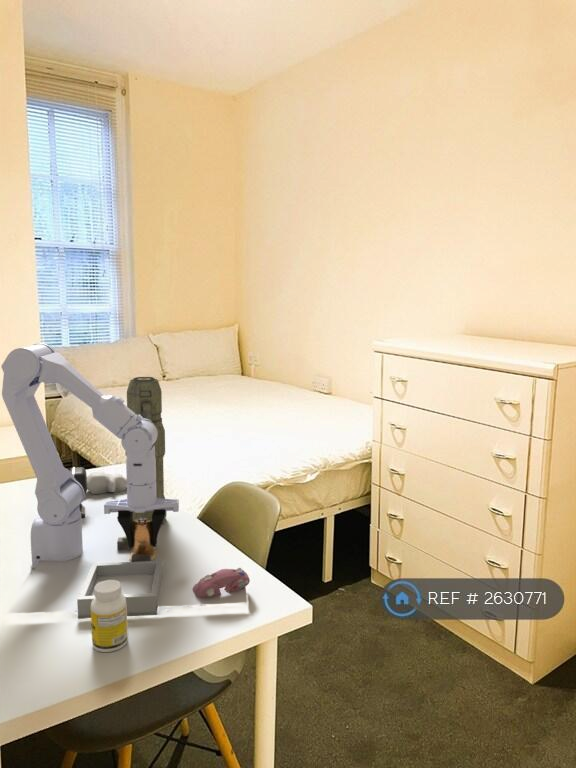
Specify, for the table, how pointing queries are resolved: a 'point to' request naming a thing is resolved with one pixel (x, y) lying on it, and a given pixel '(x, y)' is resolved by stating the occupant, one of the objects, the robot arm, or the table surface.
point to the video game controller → (221, 582)
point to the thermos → (148, 403)
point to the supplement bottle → (109, 617)
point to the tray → (135, 602)
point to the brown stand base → (123, 545)
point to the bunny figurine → (105, 482)
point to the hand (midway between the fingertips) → (142, 545)
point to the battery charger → (80, 477)
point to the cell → (142, 536)
